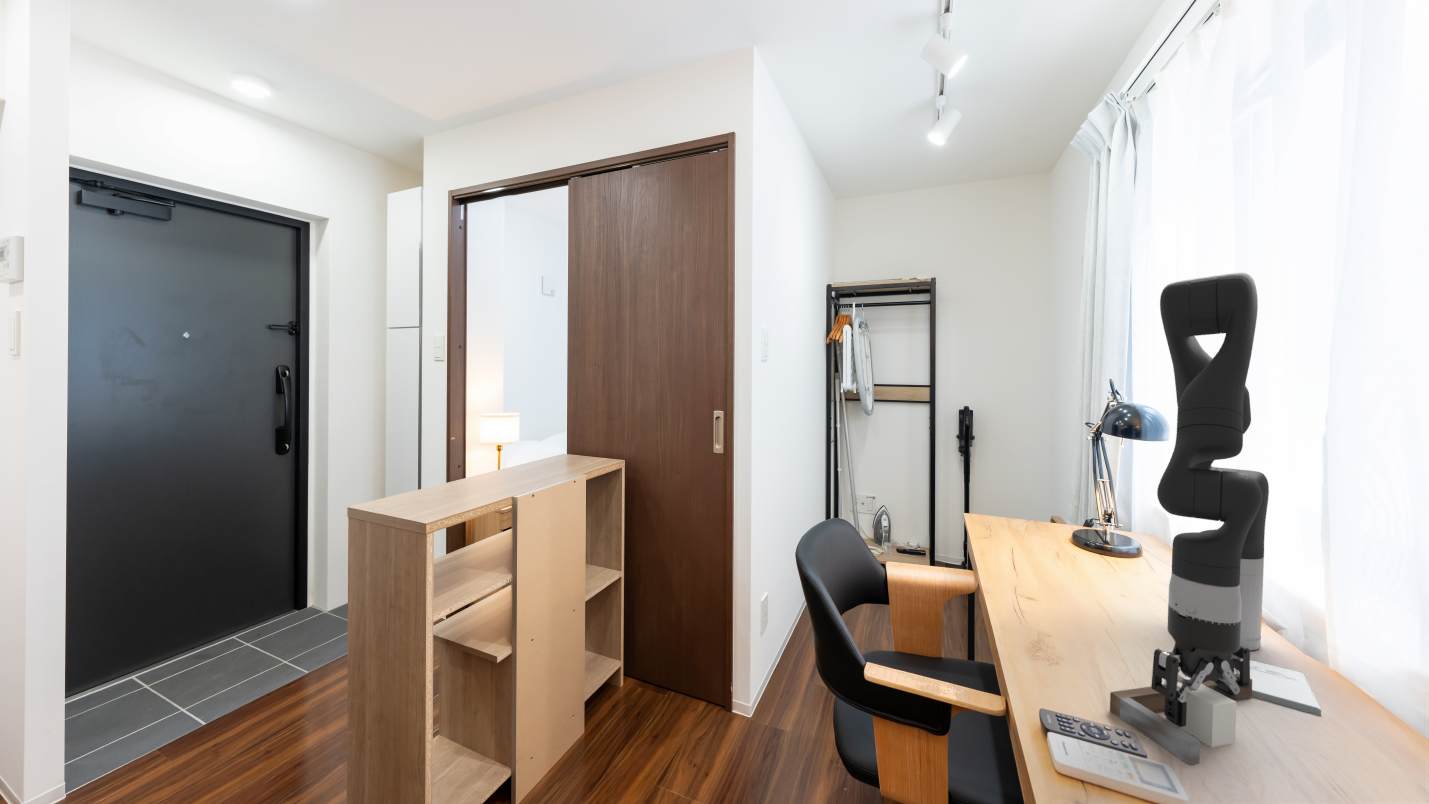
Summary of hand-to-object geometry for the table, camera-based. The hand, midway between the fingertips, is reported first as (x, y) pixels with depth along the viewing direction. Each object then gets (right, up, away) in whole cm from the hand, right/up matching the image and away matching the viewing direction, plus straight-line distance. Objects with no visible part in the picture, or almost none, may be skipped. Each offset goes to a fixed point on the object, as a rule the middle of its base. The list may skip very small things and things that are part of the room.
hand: (1199, 719), depth 74 cm
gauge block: (0, -2, 0) cm, 2 cm away
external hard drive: (+22, -2, +11) cm, 25 cm away
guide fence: (+4, -2, +1) cm, 4 cm away
